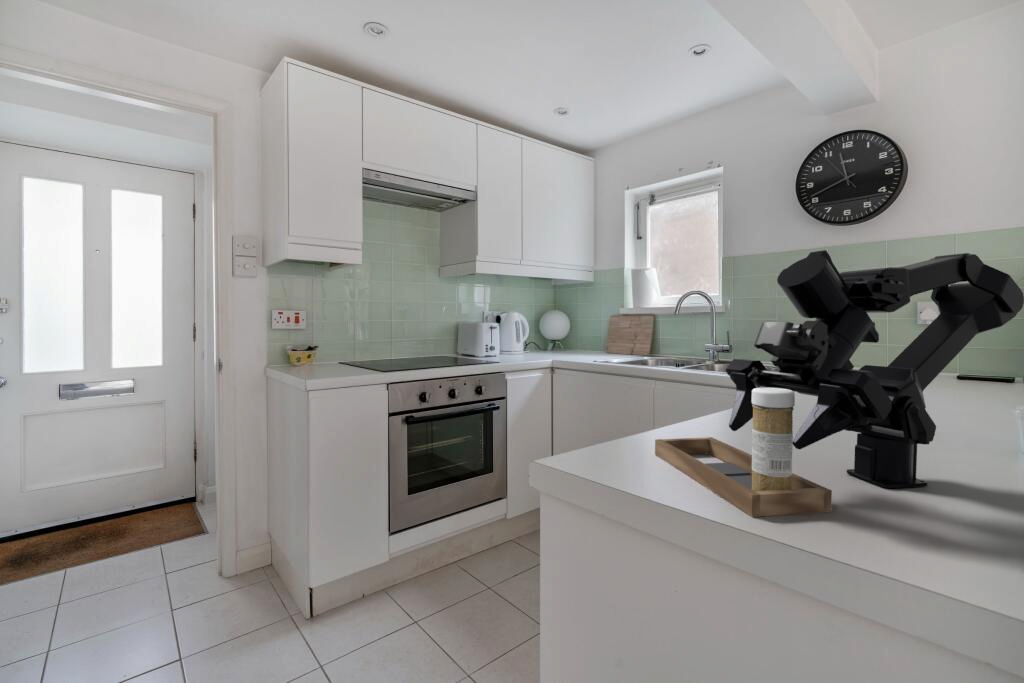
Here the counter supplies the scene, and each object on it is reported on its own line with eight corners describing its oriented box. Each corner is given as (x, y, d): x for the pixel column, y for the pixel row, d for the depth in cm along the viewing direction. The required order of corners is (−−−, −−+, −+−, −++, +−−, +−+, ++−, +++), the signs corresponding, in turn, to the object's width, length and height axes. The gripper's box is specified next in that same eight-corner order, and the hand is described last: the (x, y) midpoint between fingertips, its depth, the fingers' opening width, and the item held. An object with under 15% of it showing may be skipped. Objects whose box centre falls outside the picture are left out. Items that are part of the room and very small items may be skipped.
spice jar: (787, 493, 59) (790, 387, 59) (796, 507, 55) (799, 392, 54) (747, 489, 61) (749, 385, 60) (752, 502, 56) (754, 390, 56)
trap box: (711, 451, 79) (711, 437, 79) (831, 511, 55) (831, 490, 55) (655, 454, 78) (655, 439, 78) (751, 516, 53) (752, 495, 53)
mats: (729, 464, 72) (729, 462, 72) (779, 490, 61) (779, 487, 61) (682, 467, 71) (682, 464, 71) (725, 493, 60) (725, 490, 60)
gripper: (737, 301, 67) (672, 383, 64) (877, 295, 49) (798, 407, 46) (777, 355, 70) (717, 435, 67) (923, 367, 52) (851, 476, 49)
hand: (761, 437), depth 57 cm, fingers open, 9 cm apart
